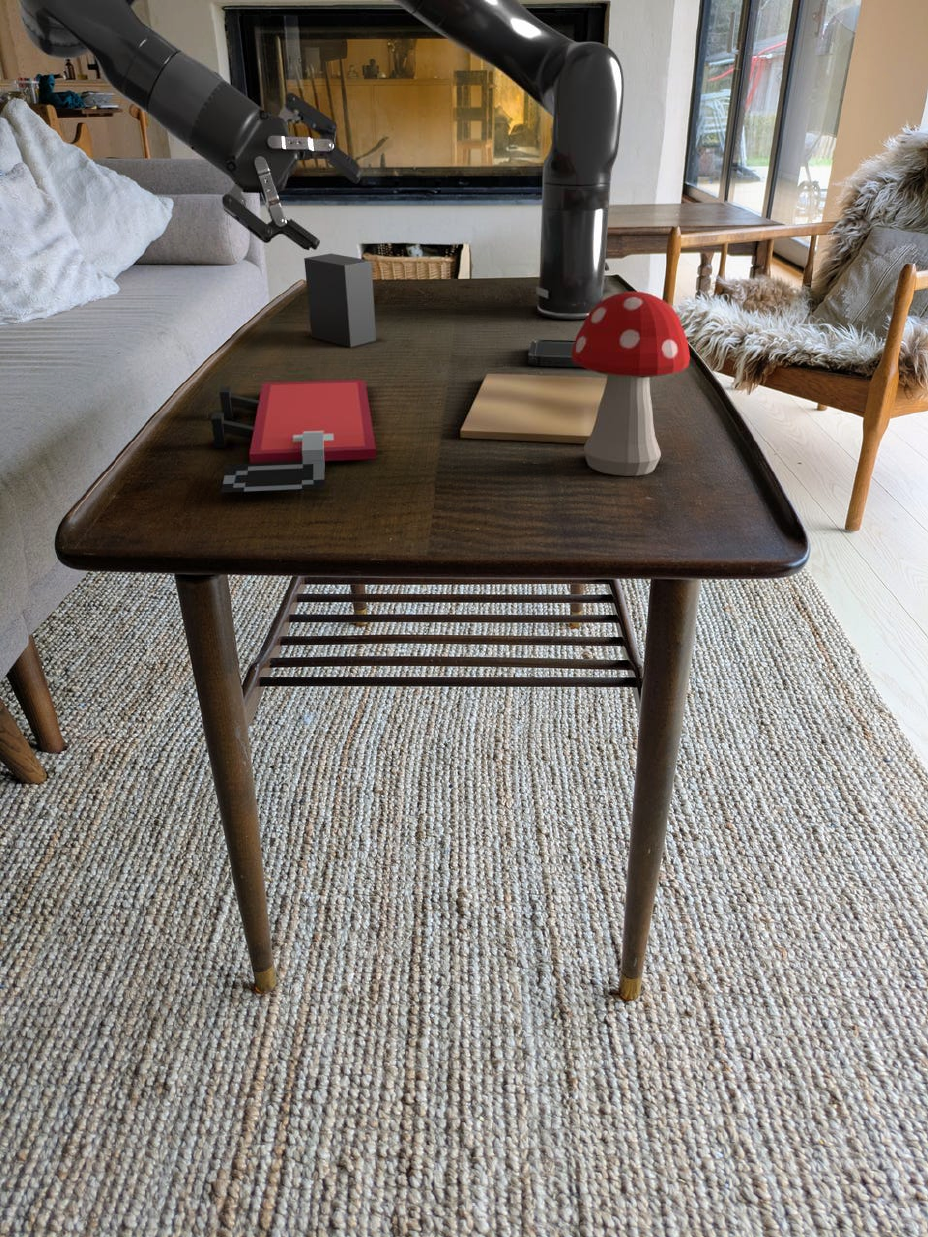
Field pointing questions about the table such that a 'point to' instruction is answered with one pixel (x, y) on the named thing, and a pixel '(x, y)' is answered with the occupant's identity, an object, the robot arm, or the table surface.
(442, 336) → the table surface
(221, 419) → the red board with handle
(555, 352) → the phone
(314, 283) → the tall charcoal box
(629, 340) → the decorative mushroom
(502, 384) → the wooden board
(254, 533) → the table surface
